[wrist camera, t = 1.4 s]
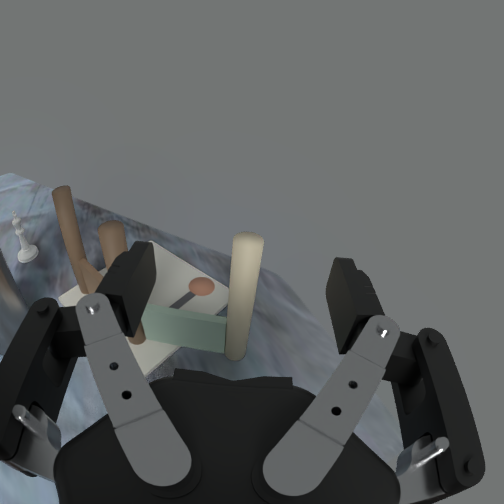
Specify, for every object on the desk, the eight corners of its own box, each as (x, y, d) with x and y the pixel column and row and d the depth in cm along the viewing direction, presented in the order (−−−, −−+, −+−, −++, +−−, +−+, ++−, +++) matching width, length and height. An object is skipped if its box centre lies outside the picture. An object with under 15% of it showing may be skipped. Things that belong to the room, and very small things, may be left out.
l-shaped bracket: (144, 344, 34) (118, 232, 24) (150, 328, 37) (129, 216, 26) (244, 362, 34) (263, 251, 24) (246, 345, 37) (264, 234, 26)
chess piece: (33, 244, 48) (20, 201, 42) (42, 253, 46) (27, 209, 40) (15, 256, 45) (0, 213, 39) (23, 266, 43) (6, 221, 37)
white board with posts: (59, 300, 39) (23, 201, 28) (151, 242, 53) (144, 151, 42) (135, 385, 31) (93, 279, 20) (237, 296, 45) (249, 190, 34)
